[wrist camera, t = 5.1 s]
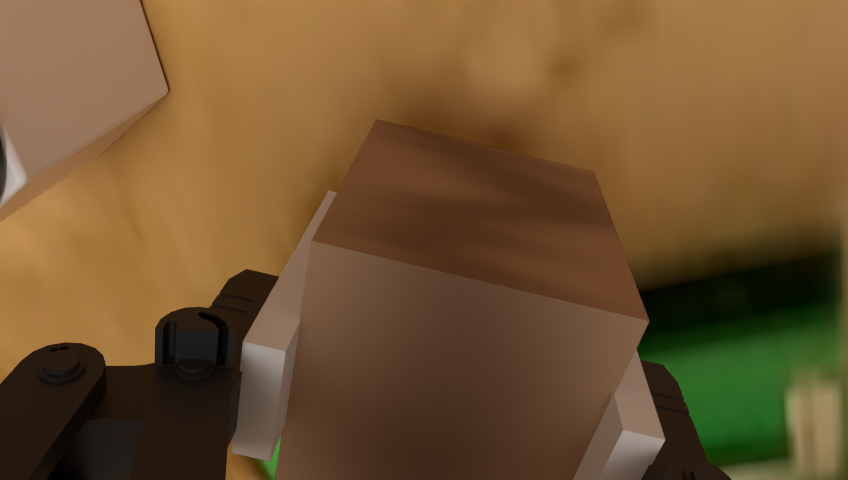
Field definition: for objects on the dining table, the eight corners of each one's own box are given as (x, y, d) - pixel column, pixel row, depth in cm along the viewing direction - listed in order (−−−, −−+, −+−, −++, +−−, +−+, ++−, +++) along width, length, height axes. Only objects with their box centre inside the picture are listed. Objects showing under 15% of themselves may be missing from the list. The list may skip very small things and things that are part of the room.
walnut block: (593, 171, 17) (649, 320, 11) (529, 345, 20) (544, 541, 14) (376, 119, 17) (311, 240, 11) (342, 301, 20) (274, 479, 14)
